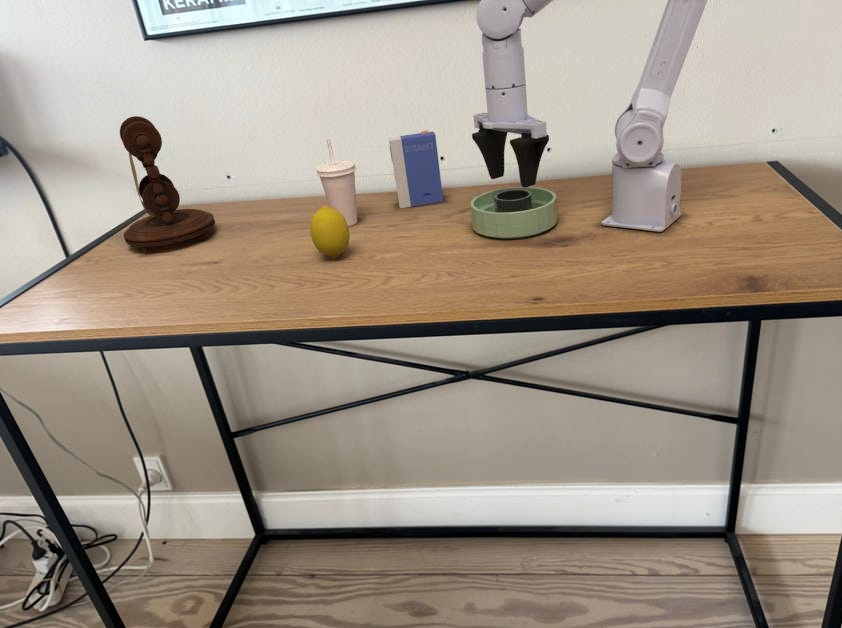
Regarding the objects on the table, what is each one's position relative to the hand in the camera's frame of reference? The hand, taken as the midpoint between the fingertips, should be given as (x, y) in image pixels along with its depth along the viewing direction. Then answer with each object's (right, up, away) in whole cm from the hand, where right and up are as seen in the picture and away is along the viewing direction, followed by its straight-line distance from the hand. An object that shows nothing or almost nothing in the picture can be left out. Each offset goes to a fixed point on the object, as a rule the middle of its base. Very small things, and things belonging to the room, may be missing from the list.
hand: (512, 181), depth 104 cm
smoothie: (-27, -4, +13) cm, 31 cm away
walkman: (-15, +1, +19) cm, 24 cm away
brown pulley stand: (-57, -6, +15) cm, 60 cm away
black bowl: (+1, -6, +3) cm, 6 cm away
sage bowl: (+1, -6, +3) cm, 7 cm away
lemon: (-26, -12, -1) cm, 29 cm away
